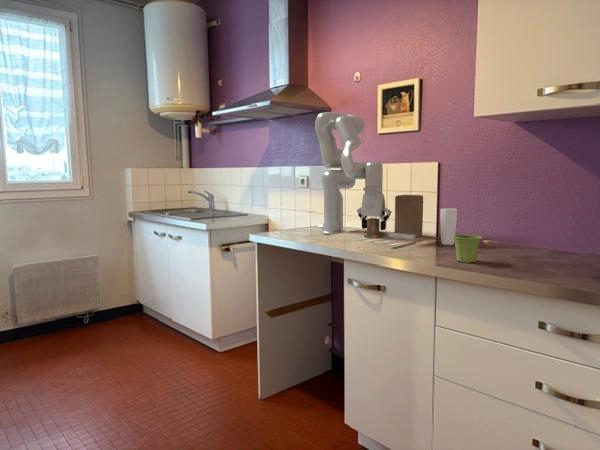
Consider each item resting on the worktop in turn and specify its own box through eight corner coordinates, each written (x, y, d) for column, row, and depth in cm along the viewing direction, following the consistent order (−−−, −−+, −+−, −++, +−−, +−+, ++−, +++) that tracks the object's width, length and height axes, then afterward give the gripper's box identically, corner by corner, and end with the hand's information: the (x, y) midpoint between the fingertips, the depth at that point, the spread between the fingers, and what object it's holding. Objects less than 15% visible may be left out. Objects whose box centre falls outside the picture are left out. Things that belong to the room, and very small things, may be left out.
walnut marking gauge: (364, 237, 196) (364, 218, 195) (370, 236, 200) (370, 217, 199) (375, 238, 192) (376, 219, 191) (381, 237, 196) (382, 218, 195)
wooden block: (414, 241, 194) (415, 196, 192) (393, 239, 200) (394, 195, 198) (423, 238, 202) (424, 195, 200) (402, 236, 208) (403, 194, 206)
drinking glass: (458, 245, 182) (459, 209, 180) (442, 245, 182) (443, 209, 180) (452, 243, 189) (453, 208, 187) (436, 243, 189) (438, 208, 187)
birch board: (349, 243, 190) (349, 233, 190) (370, 238, 202) (370, 230, 202) (396, 248, 175) (396, 239, 174) (415, 244, 187) (415, 234, 186)
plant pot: (452, 257, 156) (453, 233, 155) (480, 259, 153) (481, 235, 152) (450, 263, 147) (451, 237, 146) (481, 265, 144) (482, 238, 143)
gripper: (352, 190, 196) (352, 228, 198) (386, 191, 185) (385, 231, 186) (362, 190, 202) (362, 227, 204) (395, 190, 190) (395, 229, 192)
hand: (373, 229), depth 195 cm, fingers open, 9 cm apart
